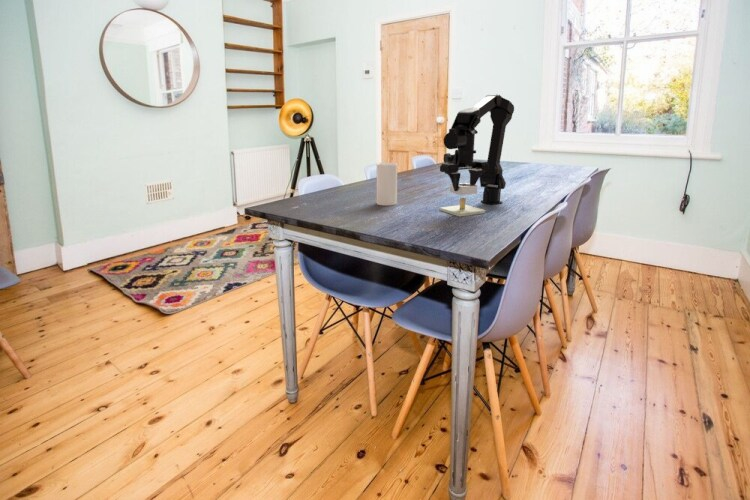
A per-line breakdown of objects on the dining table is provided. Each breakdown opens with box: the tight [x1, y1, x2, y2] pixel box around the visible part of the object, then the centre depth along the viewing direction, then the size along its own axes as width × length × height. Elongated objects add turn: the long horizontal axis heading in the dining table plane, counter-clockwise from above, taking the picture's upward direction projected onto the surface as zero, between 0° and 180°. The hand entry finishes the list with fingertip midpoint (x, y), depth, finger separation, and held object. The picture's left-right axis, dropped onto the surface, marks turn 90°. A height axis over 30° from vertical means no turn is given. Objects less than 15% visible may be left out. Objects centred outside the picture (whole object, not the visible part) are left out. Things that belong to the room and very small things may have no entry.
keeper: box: [439, 197, 486, 218], centre depth 171 cm, size 12×12×5 cm
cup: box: [376, 162, 398, 206], centre depth 184 cm, size 8×8×16 cm
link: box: [449, 182, 478, 196], centre depth 169 cm, size 7×7×3 cm
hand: (463, 190), depth 169 cm, fingers closed on link, 7 cm apart
